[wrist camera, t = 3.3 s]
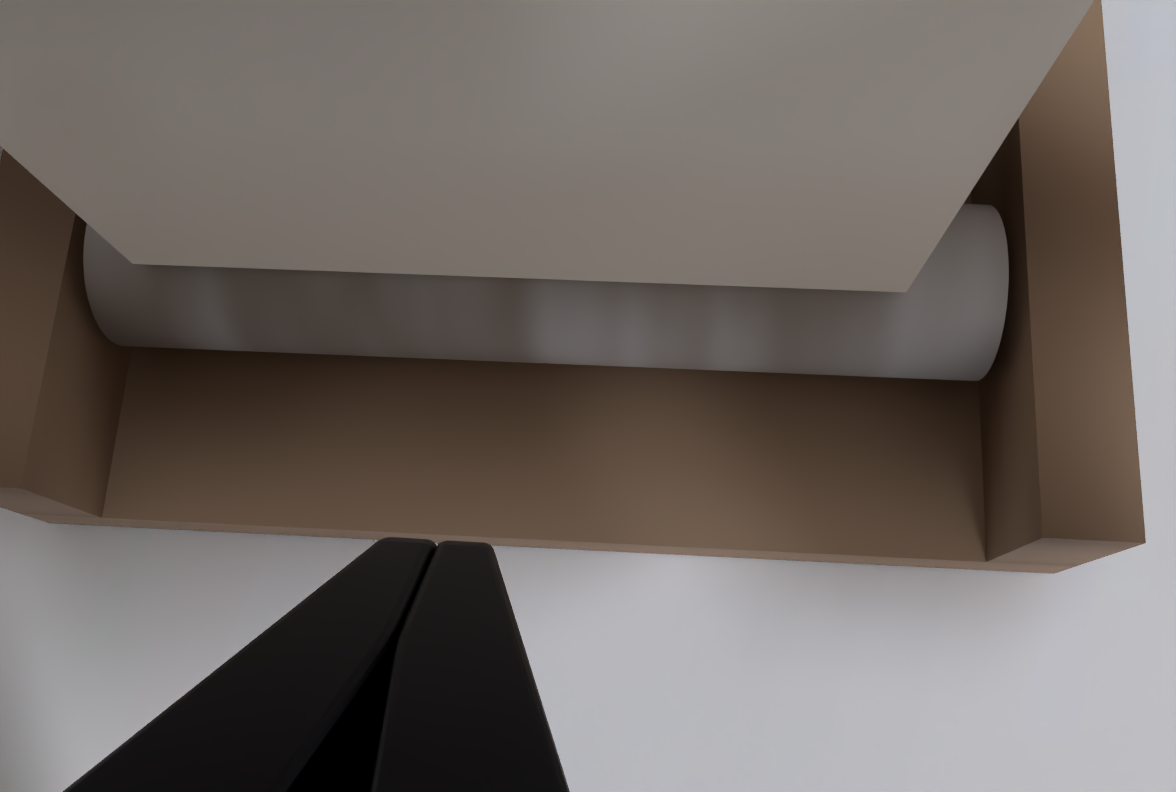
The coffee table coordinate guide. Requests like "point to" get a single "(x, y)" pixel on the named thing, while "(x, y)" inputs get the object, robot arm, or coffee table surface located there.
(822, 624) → the coffee table surface
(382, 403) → the roller bed
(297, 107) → the limestone slab
